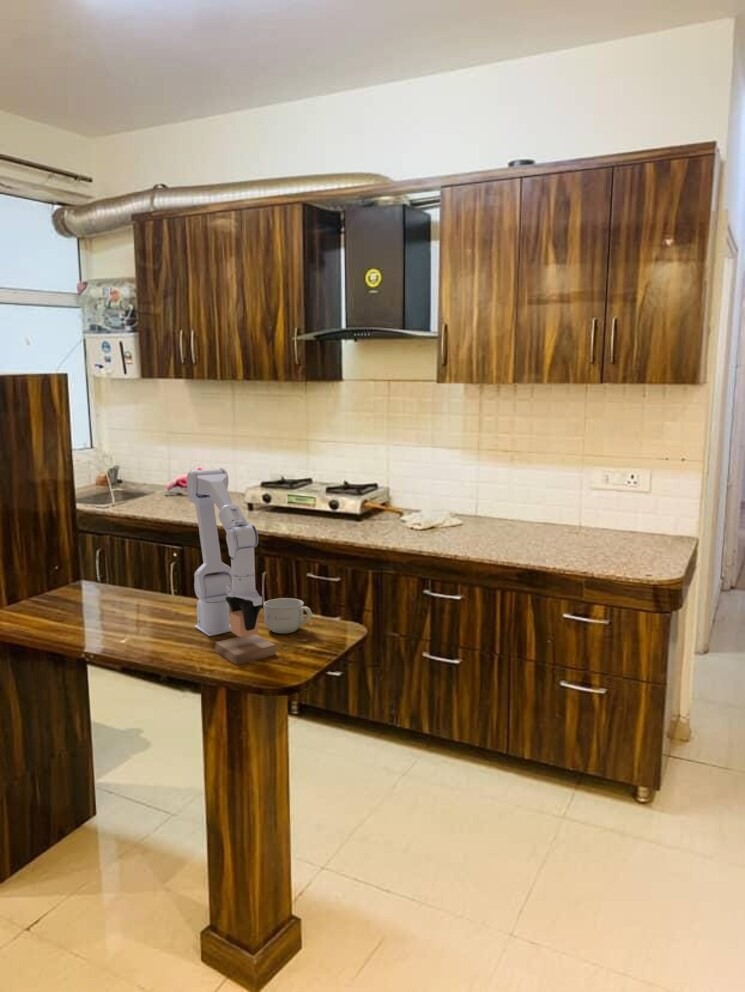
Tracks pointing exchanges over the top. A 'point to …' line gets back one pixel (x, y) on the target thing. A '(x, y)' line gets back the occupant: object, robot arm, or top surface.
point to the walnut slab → (245, 648)
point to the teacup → (285, 614)
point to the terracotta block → (241, 624)
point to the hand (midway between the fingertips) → (244, 626)
